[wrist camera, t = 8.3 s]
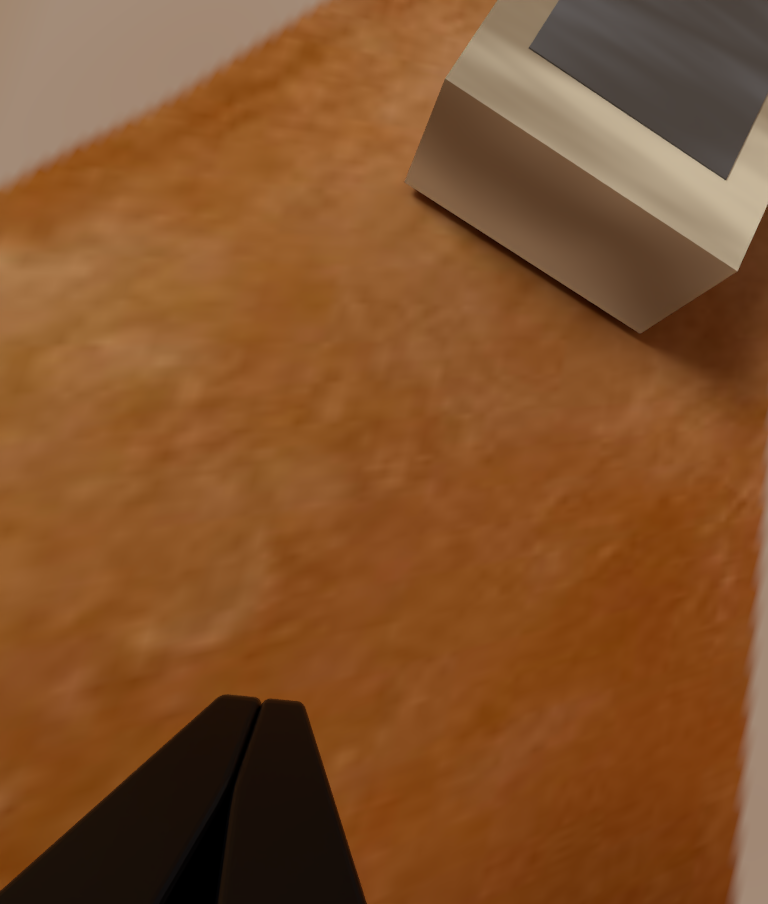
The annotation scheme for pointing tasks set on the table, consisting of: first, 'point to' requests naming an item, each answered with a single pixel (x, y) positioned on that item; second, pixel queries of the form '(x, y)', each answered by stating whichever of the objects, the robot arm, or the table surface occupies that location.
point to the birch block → (609, 144)
